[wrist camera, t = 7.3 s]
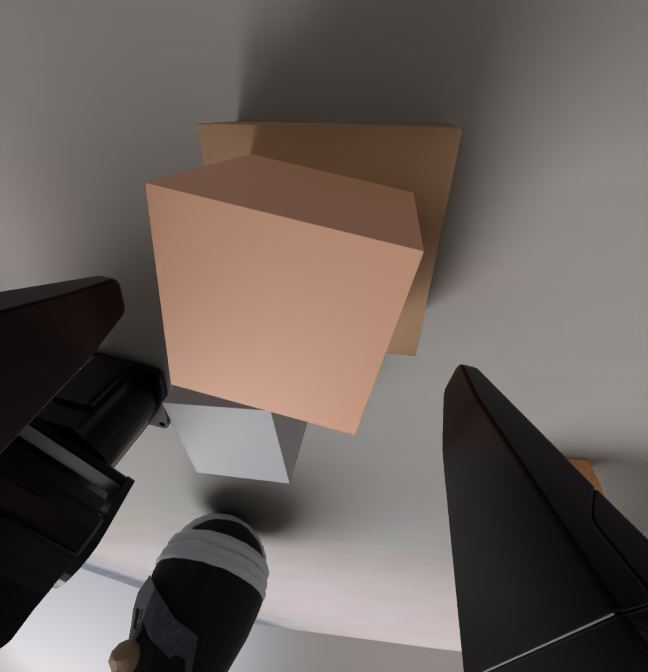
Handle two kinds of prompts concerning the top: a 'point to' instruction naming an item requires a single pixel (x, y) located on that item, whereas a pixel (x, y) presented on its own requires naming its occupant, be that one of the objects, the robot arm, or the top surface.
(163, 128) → the top surface
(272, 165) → the terracotta cube
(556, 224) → the top surface
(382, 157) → the walnut slab
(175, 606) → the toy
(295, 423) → the slate cube
